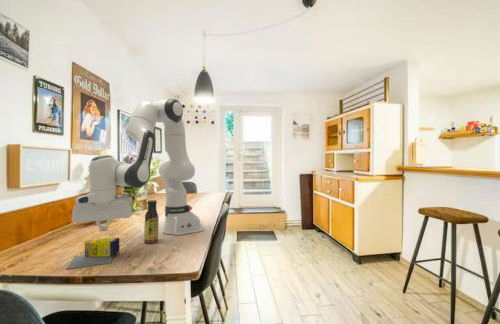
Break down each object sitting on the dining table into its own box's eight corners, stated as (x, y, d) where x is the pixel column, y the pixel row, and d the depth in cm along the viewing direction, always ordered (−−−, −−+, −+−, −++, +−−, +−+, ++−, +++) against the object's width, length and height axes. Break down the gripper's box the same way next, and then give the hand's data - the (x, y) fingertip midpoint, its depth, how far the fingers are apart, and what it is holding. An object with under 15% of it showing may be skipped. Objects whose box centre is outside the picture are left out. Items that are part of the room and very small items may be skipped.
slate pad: (114, 252, 102) (114, 251, 102) (110, 263, 91) (110, 262, 91) (75, 257, 96) (75, 256, 96) (65, 269, 85) (65, 268, 85)
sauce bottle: (149, 245, 110) (149, 202, 110) (141, 242, 114) (141, 200, 114) (161, 240, 116) (161, 200, 116) (153, 238, 119) (153, 199, 119)
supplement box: (112, 241, 96) (84, 242, 95) (112, 256, 96) (84, 257, 95) (119, 237, 102) (93, 237, 101) (119, 251, 102) (93, 251, 101)
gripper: (132, 193, 102) (133, 225, 102) (74, 197, 94) (75, 232, 94) (131, 195, 96) (132, 229, 96) (70, 199, 88) (71, 236, 88)
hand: (104, 230), depth 95 cm, fingers closed
